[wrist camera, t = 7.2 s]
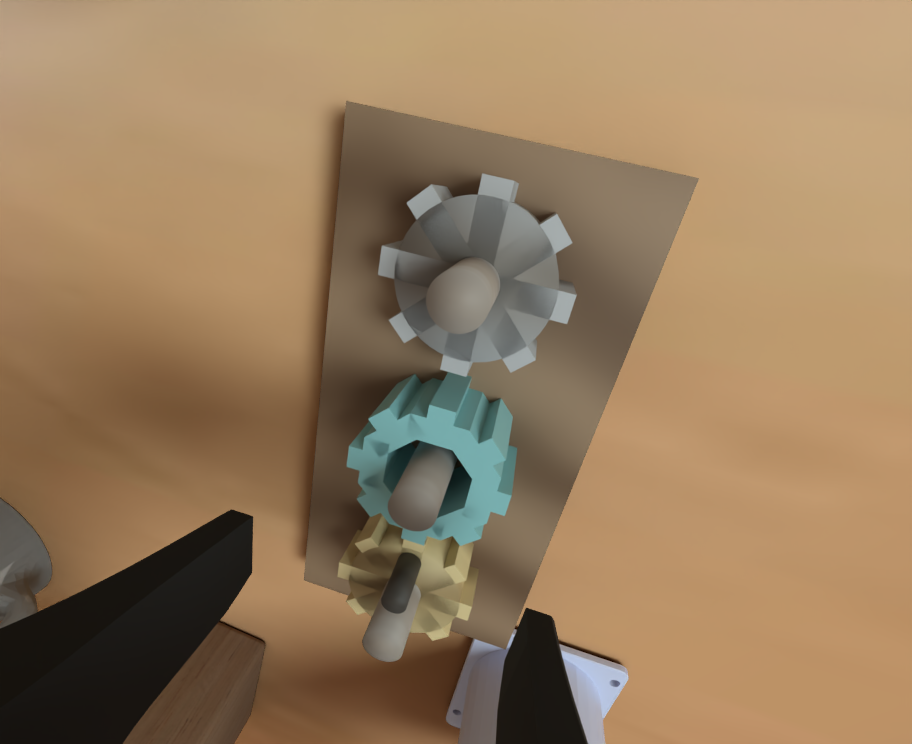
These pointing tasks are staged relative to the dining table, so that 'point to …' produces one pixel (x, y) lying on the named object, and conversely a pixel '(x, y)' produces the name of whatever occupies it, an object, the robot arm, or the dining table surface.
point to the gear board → (530, 392)
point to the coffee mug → (20, 566)
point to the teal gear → (445, 425)
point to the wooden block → (206, 693)
